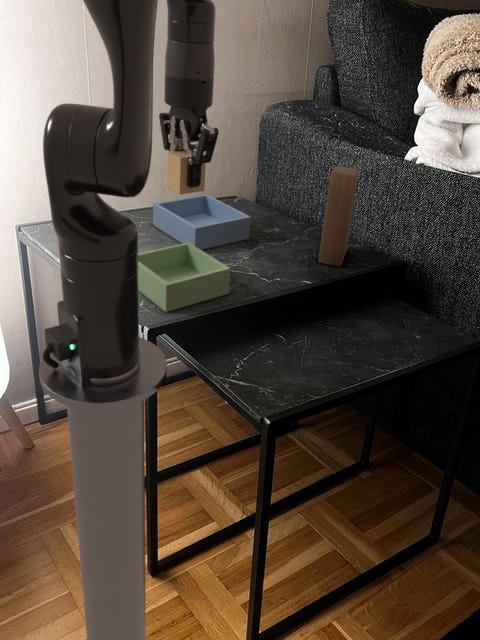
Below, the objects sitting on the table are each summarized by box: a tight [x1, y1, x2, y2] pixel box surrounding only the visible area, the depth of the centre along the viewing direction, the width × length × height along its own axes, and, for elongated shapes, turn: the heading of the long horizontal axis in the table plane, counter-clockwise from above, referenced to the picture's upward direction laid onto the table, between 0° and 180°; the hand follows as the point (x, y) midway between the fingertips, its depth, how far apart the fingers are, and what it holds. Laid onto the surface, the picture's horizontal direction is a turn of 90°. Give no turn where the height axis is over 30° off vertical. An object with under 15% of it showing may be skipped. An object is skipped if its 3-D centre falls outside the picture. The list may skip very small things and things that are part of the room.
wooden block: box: [318, 165, 360, 267], centre depth 117 cm, size 9×4×18 cm, turn 163°
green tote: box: [138, 242, 231, 313], centre depth 104 cm, size 13×13×5 cm
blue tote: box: [152, 193, 252, 251], centre depth 126 cm, size 14×16×5 cm
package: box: [166, 150, 207, 196], centre depth 101 cm, size 5×4×6 cm
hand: (185, 182), depth 102 cm, fingers closed on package, 4 cm apart
